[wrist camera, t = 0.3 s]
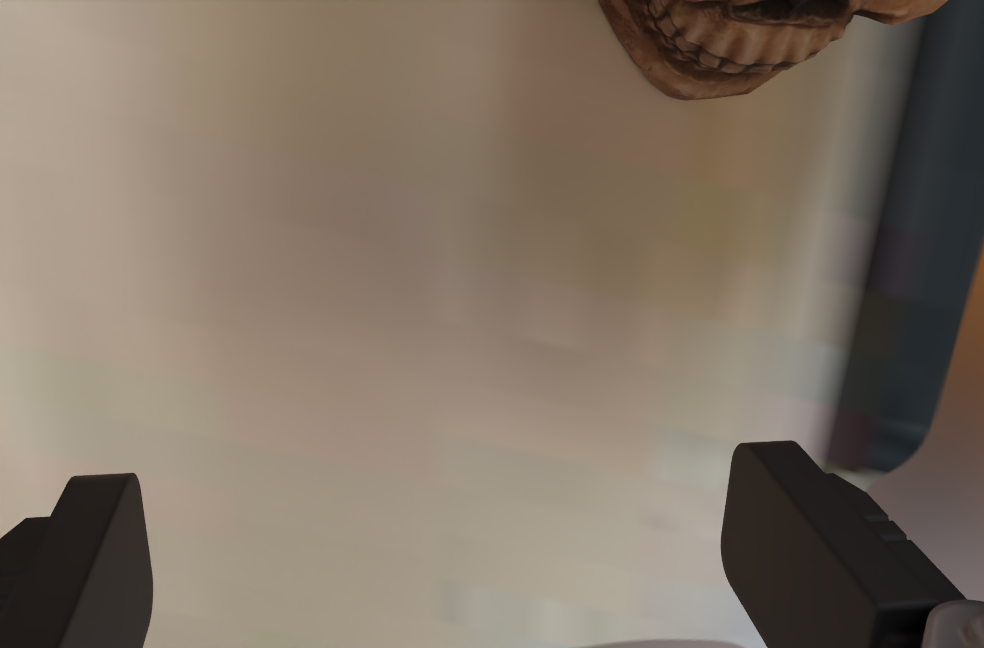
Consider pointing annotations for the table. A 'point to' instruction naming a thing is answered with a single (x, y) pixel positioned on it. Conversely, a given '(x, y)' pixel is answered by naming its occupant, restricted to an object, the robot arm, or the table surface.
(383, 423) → the table surface
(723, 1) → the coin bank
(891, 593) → the robot arm
